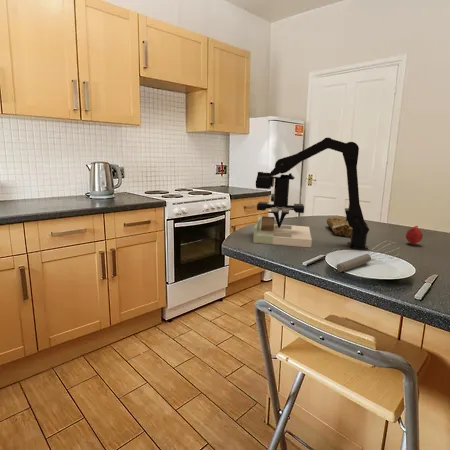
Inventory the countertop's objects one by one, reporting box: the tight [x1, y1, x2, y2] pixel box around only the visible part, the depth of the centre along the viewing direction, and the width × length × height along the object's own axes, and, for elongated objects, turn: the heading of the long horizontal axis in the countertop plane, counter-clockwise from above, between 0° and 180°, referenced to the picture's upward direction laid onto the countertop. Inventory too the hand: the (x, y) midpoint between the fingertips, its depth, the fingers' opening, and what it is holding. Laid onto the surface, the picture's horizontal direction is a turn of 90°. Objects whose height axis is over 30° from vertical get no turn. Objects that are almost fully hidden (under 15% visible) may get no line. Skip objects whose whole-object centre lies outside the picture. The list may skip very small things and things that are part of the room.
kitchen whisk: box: [334, 240, 401, 274], centre depth 110 cm, size 6×34×6 cm, turn 125°
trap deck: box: [252, 216, 313, 248], centre depth 138 cm, size 22×22×6 cm
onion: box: [405, 225, 424, 246], centre depth 134 cm, size 6×6×8 cm
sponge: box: [326, 215, 353, 238], centre depth 152 cm, size 13×8×20 cm
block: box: [261, 215, 276, 231], centre depth 139 cm, size 5×5×5 cm
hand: (279, 227), depth 138 cm, fingers closed
